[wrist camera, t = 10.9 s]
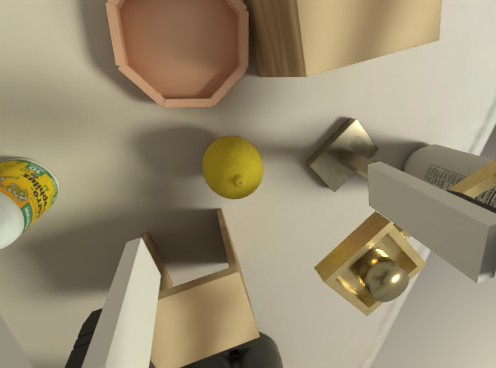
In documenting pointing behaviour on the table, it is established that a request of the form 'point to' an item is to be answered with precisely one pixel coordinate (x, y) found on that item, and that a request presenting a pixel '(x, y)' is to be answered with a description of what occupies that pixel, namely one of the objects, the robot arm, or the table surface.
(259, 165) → the lemon
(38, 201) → the supplement bottle
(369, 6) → the oak cover
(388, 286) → the balance
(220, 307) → the oak cover
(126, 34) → the saucer
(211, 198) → the table surface
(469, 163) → the energy drink can
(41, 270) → the table surface
